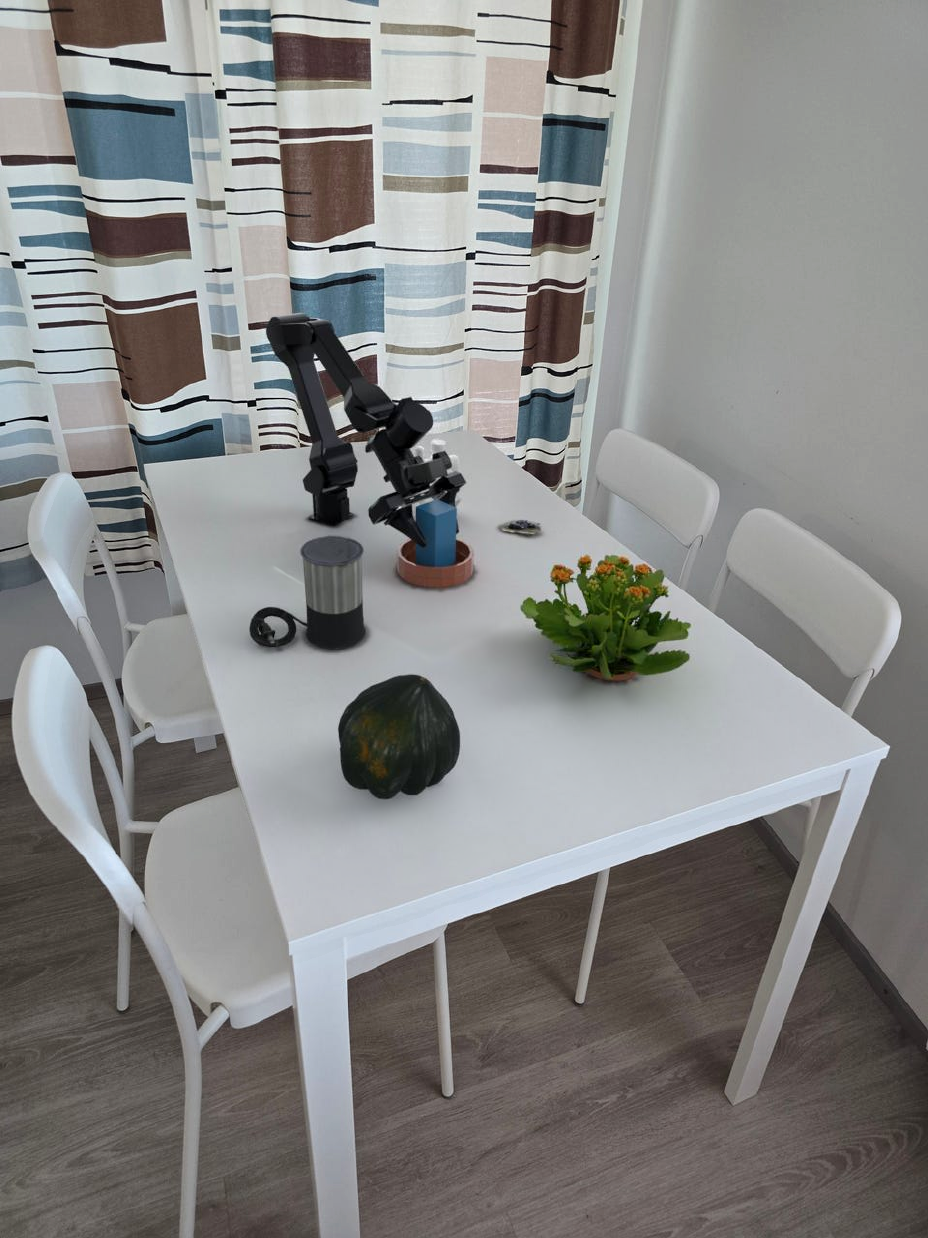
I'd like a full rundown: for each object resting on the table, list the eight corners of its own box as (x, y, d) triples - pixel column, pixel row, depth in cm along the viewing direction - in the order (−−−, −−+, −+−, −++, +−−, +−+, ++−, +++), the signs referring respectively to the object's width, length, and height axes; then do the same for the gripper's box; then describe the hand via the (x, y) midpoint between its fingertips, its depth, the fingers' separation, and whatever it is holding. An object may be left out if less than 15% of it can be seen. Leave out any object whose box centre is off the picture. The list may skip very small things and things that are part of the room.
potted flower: (660, 618, 140) (677, 520, 131) (728, 703, 120) (753, 595, 111) (512, 631, 135) (520, 530, 126) (558, 723, 115) (571, 611, 106)
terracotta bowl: (382, 576, 149) (382, 556, 147) (423, 548, 159) (423, 528, 157) (448, 596, 144) (448, 575, 142) (485, 566, 154) (486, 546, 152)
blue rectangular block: (415, 569, 151) (415, 506, 145) (435, 560, 154) (436, 498, 148) (434, 579, 148) (435, 515, 142) (455, 570, 152) (457, 507, 145)
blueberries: (542, 538, 165) (542, 529, 164) (500, 536, 165) (501, 527, 164) (540, 523, 171) (540, 514, 170) (499, 521, 171) (500, 513, 170)
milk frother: (378, 635, 133) (376, 549, 125) (296, 675, 123) (289, 585, 115) (320, 602, 141) (315, 519, 133) (239, 637, 131) (228, 550, 123)
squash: (294, 742, 102) (360, 691, 92) (370, 685, 113) (436, 635, 103) (365, 838, 102) (440, 797, 92) (434, 771, 113) (507, 729, 103)
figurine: (465, 515, 173) (468, 443, 165) (423, 522, 169) (424, 450, 161) (449, 502, 178) (451, 432, 170) (408, 509, 174) (408, 438, 167)
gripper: (377, 450, 136) (424, 536, 135) (460, 426, 148) (504, 505, 147) (348, 483, 145) (392, 563, 144) (428, 457, 156) (469, 532, 156)
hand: (441, 539), depth 147 cm, fingers open, 7 cm apart
